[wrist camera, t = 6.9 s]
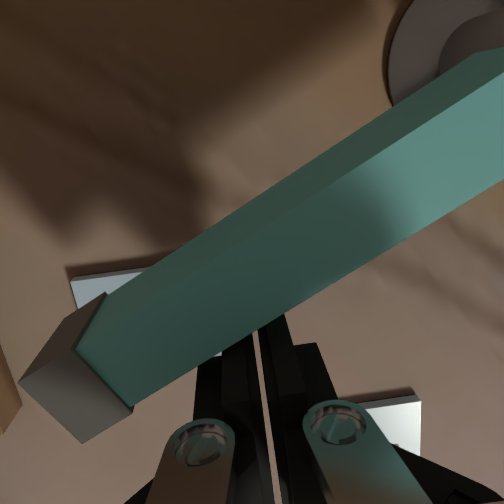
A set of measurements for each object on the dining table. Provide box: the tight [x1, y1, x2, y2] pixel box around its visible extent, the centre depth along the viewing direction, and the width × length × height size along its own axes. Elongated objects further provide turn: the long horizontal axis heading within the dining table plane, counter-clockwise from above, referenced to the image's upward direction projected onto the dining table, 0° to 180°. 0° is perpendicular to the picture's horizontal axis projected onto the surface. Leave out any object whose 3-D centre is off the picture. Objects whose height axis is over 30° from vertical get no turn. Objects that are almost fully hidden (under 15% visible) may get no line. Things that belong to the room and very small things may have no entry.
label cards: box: [70, 267, 421, 456], centre depth 16 cm, size 12×11×1 cm
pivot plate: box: [387, 0, 504, 107], centre depth 13 cm, size 5×5×1 cm
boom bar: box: [18, 8, 504, 444], centre depth 11 cm, size 15×2×6 cm, turn 123°
